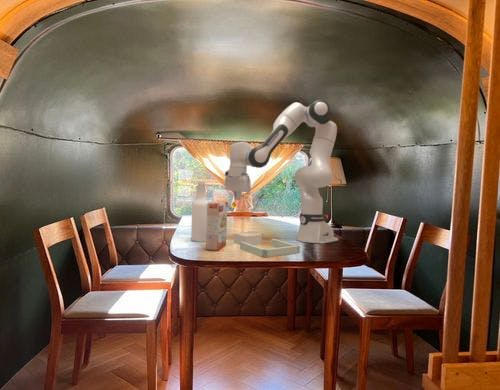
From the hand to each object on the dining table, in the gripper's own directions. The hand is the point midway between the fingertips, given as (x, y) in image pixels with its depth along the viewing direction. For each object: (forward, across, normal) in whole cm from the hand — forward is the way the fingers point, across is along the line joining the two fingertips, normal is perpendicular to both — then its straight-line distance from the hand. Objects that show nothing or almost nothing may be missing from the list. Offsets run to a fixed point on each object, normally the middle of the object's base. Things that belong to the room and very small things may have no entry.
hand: (237, 200), depth 176 cm
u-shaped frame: (+20, -29, 0) cm, 36 cm away
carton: (+21, -11, 0) cm, 23 cm away
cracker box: (+21, -13, +18) cm, 30 cm away
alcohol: (+21, +5, +18) cm, 28 cm away
